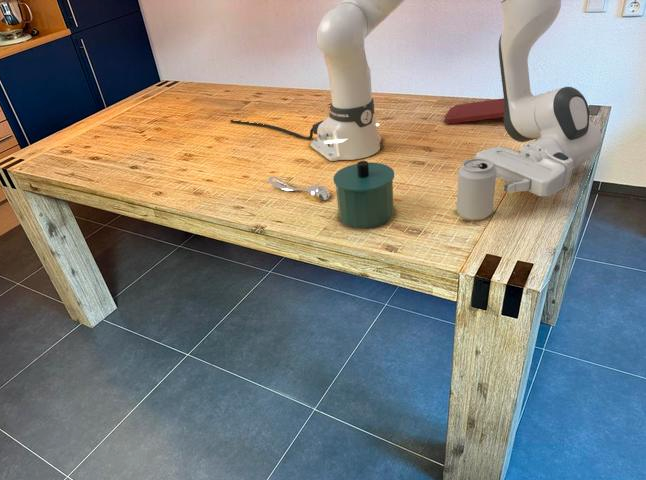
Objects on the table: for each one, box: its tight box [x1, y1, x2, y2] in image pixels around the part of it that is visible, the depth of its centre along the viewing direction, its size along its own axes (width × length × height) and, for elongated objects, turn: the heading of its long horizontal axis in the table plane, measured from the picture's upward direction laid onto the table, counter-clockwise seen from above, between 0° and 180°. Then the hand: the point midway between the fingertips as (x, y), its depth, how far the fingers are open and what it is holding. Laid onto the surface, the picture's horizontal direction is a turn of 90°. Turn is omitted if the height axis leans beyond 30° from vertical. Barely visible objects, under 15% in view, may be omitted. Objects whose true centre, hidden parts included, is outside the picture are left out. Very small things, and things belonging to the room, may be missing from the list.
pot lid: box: [333, 160, 395, 192], centre depth 112 cm, size 13×13×4 cm
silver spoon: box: [267, 176, 331, 201], centre depth 132 cm, size 20×4×5 cm
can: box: [455, 157, 497, 221], centre depth 108 cm, size 8×8×12 cm
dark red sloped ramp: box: [444, 97, 504, 125], centre depth 152 cm, size 12×5×25 cm
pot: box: [335, 179, 395, 229], centre depth 116 cm, size 12×12×10 cm
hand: (489, 181), depth 109 cm, fingers open, 8 cm apart
